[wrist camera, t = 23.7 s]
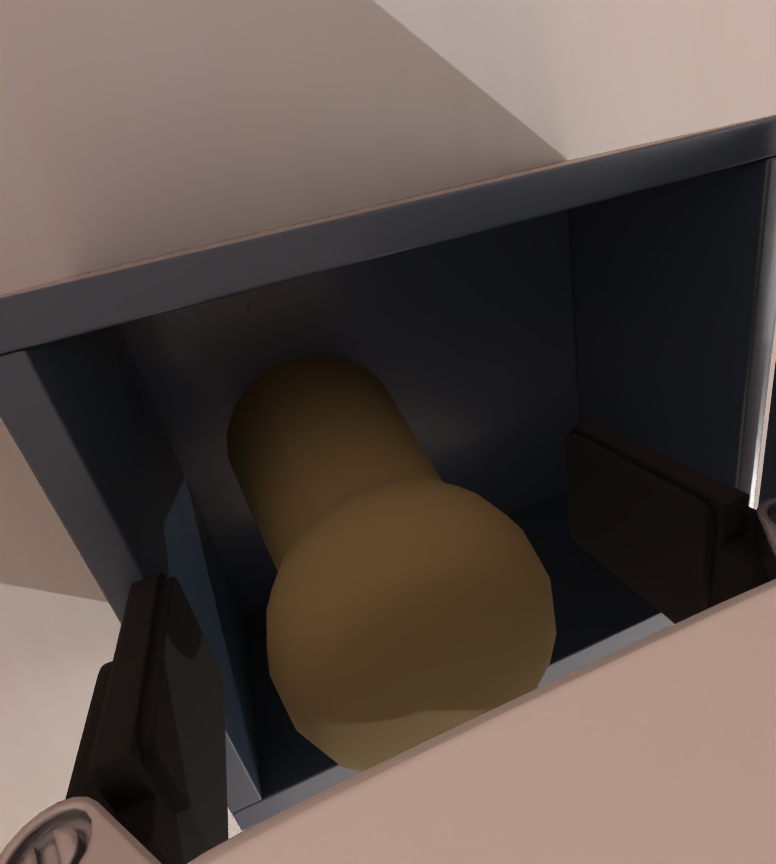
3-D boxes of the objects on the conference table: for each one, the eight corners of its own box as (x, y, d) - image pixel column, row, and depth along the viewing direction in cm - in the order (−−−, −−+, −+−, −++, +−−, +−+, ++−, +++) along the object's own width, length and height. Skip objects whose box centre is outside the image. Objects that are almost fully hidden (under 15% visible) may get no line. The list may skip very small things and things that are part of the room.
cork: (422, 468, 19) (640, 705, 9) (278, 545, 18) (354, 893, 9) (360, 323, 16) (576, 444, 7) (189, 407, 16) (151, 682, 6)
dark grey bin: (231, 625, 20) (241, 832, 13) (71, 276, 14) (-63, 312, 7) (586, 485, 23) (745, 590, 16) (570, 160, 18) (801, 109, 11)
